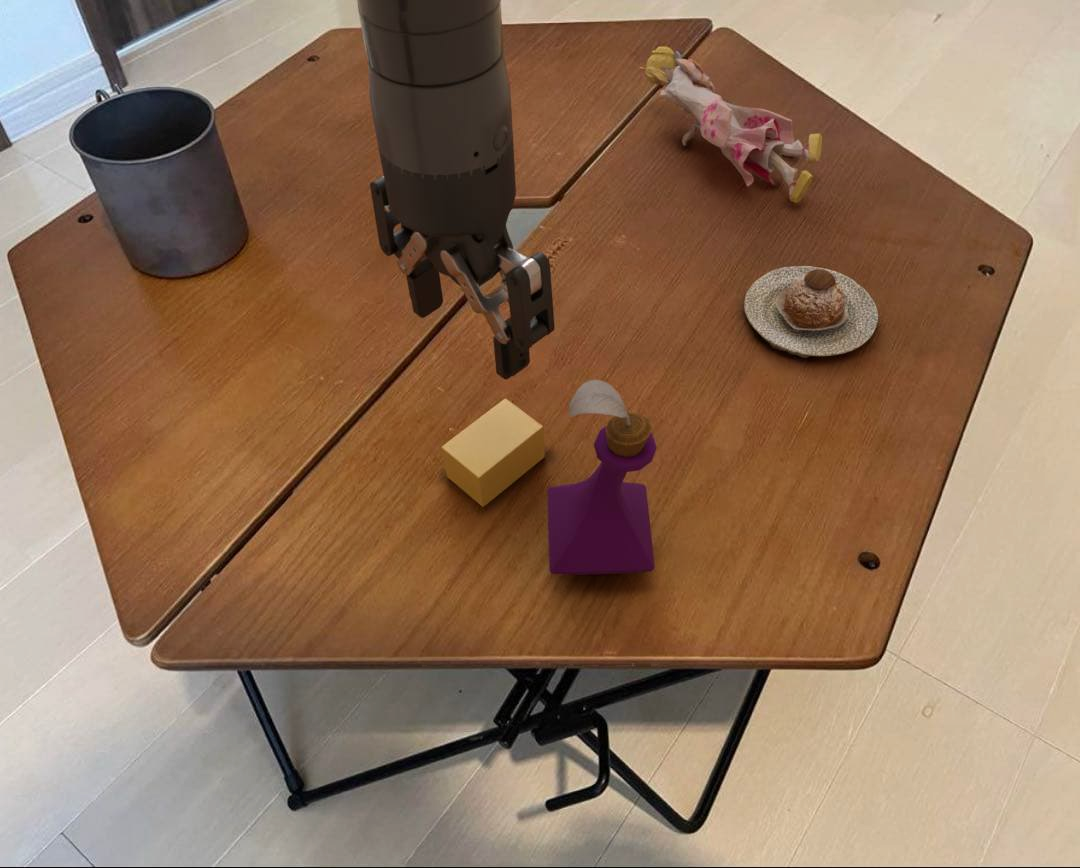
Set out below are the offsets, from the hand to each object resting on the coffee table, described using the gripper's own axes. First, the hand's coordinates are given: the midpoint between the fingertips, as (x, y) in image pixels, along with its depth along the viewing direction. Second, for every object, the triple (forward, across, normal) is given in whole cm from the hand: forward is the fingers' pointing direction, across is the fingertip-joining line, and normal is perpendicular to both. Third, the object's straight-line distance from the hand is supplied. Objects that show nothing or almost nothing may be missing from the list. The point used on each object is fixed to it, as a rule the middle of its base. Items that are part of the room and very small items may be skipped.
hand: (469, 339), depth 62 cm
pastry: (+15, +9, +33) cm, 37 cm away
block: (+15, 0, +1) cm, 15 cm away
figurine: (+15, -13, +47) cm, 51 cm away
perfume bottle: (+15, +12, +1) cm, 19 cm away
